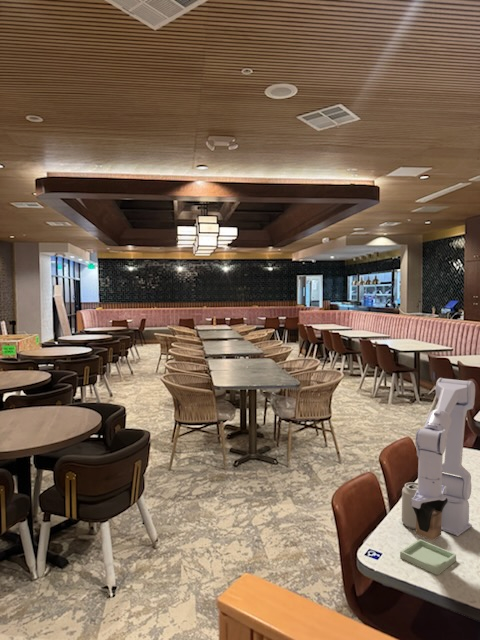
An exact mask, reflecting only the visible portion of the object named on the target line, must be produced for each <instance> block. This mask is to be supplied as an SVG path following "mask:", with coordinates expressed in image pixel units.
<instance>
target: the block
mask: <svg viewBox="0 0 480 640" xmlns="http://www.w3.org/2000/svg"><path fill="white" fill-rule="evenodd" d="M441 523H442V512H440V511H437V510H434V511H433V513H432V516H431V520H430V527H429V530H428V532H425V531H422V530H420V529H419V525H418V521H417V517H416V530H415V534H416V535H419V536H420V537H423V538H425V539H427V540H429V541H432V542H433V541H434V540H436V539H437V538H439V537H441V536H442V530H441Z"/></svg>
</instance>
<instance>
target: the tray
mask: <svg viewBox="0 0 480 640" xmlns="http://www.w3.org/2000/svg"><path fill="white" fill-rule="evenodd" d="M399 553H400V554H399V558H400V559H402V560H404V561H407V562H408V563H411V564H413V565H415V566H417V567H419V568H422V569H424V570H426V571H428V572H430V573H432V574H434V575H435V576H438V575H440V574H441V573H442V572H444V571H445V570H447V568H449V567H450V566H451V565H452V564H454V563H455V562H456V561H457V553H456V554H455V553H454V552H451V551H449V550H447V549H444V548H442V547H440V546H438V545H435V544H433V543H430V542H428V541H426V540H424V539H420V538H419V539H417V540H415V541H414V542H413V543H411V544H410V545H408V546H407V547H405V548H404V549H402V550H400V551H399Z"/></svg>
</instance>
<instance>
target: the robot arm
mask: <svg viewBox="0 0 480 640" xmlns="http://www.w3.org/2000/svg"><path fill="white" fill-rule="evenodd" d="M435 383H436V384H435V395H436V397H437V399H438V401H437V404H436V406H435V407H436V408H435V409H432V410H431V411H430V412H429V414H428V416H427V419H426V421H425V423H424V426H423V427H422V428H420V429H418V430H417V431H416V434H415V441H414V443H415V448H416V457H417V458H418V462H417V463H418V468H417V483H418V490H417V491H416V494H415V496H414V497H413V498H412V499H411V506H412V508H413V509H414V511H415V514H416V517H417V521H418V525H419V529H420V530H422V531H425V532H428V530H429V527H430V520H431V516H432V513H433V511H434V510H437V511H440V512H442V523H441V531H444V532H446V533H449V534H452V535H454V536H456V537H457V536H458V537H459V536H460V535H462V534H463V533H464V532H467V530H468V529H470V528H472V526H473V525H472V523H470V522H469V521H470V520H469V519H470V503H469V499H470V498H471V495H472V475H471V473H470V472H469V471H468V470H467V469H466V467H464V466H463V465H462V463H463V449H464V437H465V427H466V416H467V412H468V411H469V410H473V409H474V406H475V398H476V384H475V383H474V381H473V380H461V379H460V380H459V379H452V378H443V377H439V378H438V379H437V380H436V382H435ZM444 453H445V454H444ZM443 456H444V460H443ZM443 461H444V462H443Z"/></svg>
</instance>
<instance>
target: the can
mask: <svg viewBox="0 0 480 640" xmlns="http://www.w3.org/2000/svg"><path fill="white" fill-rule="evenodd" d="M417 490H418V482H413V481H412V482H411V481H410V482H406V483H404V486H403V487H402V490H401V497H402V498H401V522H402V523H403V524H404V525H405V526H406V527H407V528H408V529H411V530H415V531H416V514H415V511H414V509H413V508H412V506H411V499H412V498H413V497H414V496H415V494H416V491H417Z"/></svg>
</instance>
